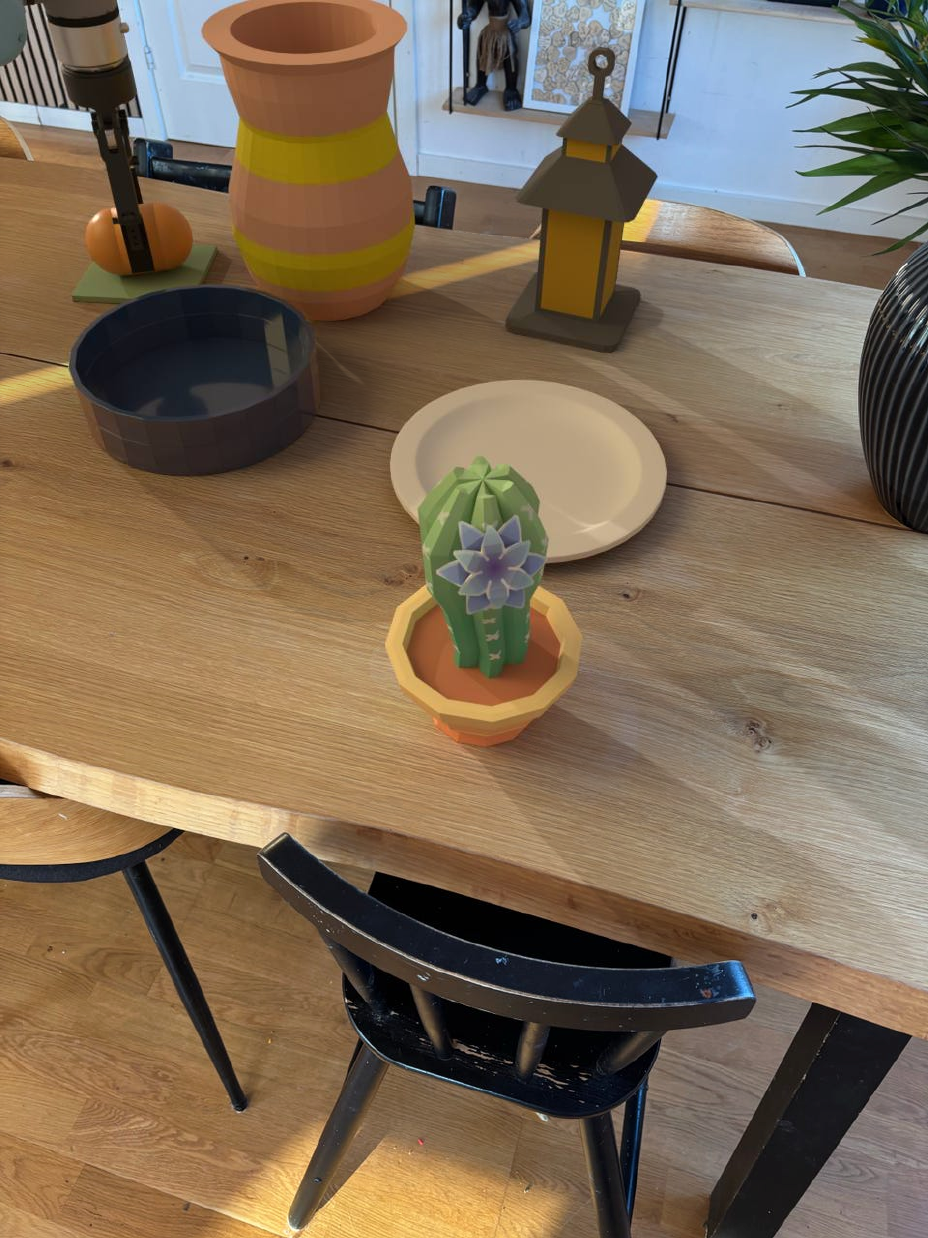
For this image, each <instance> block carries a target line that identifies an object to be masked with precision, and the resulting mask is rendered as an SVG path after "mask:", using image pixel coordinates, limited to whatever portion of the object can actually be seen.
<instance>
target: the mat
mask: <svg viewBox="0 0 928 1238" xmlns="http://www.w3.org/2000/svg"><path fill="white" fill-rule="evenodd" d="M218 250H219V249H218V245H216V244H215V245H212V244H194V243H193V246H192V250H191V253H190V255H189V257H188V258H187V259H186V261H185V262H184V263H183V264H181V265H180V266H179V267H176V268H174V269H171V270H166V271H158V272H150V273H143V274H135V275H124V276H120V275H114V274H112V273H109V272H107V271H105V270H103V269H102V268H100V267H99V266H98V265H97V264H96V263H95V262H94V261H93V260H92V262H91V263H90V265H89V267H88V268H87V269H86V271H85V273H84V274H83V276H82V277H81V279H80V280H79V282H78V283H77V285H76V286H75V288H74V290H73V292H72V293H71V294H70V296H71V300H72V302H82V303H83V302H84V303H102V304H103V303H105V304H121V303H123V302H126V301H129V300H131V299H134V298H136V297H139V296H142V295H144V294H147V293H150V292H155V291H159V290H164V289H168V288H173V287H179V286H191V285H202V284H203V283H204V281H205V279H206V277H207V275H208V273H209V270H210V269H211V267H212V264H213V262H214V260H215V258H216V256H217V253H218Z"/></svg>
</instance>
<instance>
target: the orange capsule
mask: <svg viewBox="0 0 928 1238" xmlns="http://www.w3.org/2000/svg"><path fill="white" fill-rule="evenodd" d="M138 205H139V210H140V213H141V214H142V217H143V221H144V225H145V229H146V234H147V238H148V242H149V246H150V250H151V255H152V259H153V263H154V267H155V271H149V272H141V273H133V274H132V270H131V266H130V263H129V259H128V255H127V251H126V247H125V243H124V239H123V235H122V231H121V228H120V224H113V220H112V218H114V217H117V212H116V207H115V206H112V207H106V208H103V209H101V210H100V211H98V212H96V213H95V214H94V215H93V216H92V218H91V219H90V220H89V221H88V224H87V226H86V229H85V234H84V235H85V237H84V239H85V240H84V241H85V246H86V249H87V250H86V251H87V252H88V254H89V256H90V258H91V259H92V262H93V261H94V262H95V263H96V264H97V265H98V266H99V267H100V268H102V269H103V270H105V271H107V272H109V273H112V274H114V275H120V276H124V275H135V274H143V273H150V272H158V271H166V270H171V269H174V268H176V267H179V266H180V265H181V264H183V263H184V262H185V261H186V259H187V258H188V257H189V255H190V253H191V250H192V246H193V244H194V235H193V231H192V230H193V229H192V228H191V225H190V223H189V221H188V220H187V218H186V217H185V216H184V214H183V213H182V212H181V211H179V209H177V208H175V207H174V206H171V205H169V204H167V203H162V202H148V203H147V202H146V203H144V204H138Z"/></svg>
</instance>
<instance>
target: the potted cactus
mask: <svg viewBox="0 0 928 1238" xmlns="http://www.w3.org/2000/svg"><path fill="white" fill-rule="evenodd" d="M539 504H540V500H539V498H538V496H537V494H536V492H535V490H534V488H533V486H532V485H531V484H530V483H528V482H527V481H526V480H525V479H524V478H523V477H522V476H521V475H520V474H518V473H517V472H516V471H515V470H514V469H513V468H512V467H511V466H510V465H508V464H507V463H502V464H499V465H497V466H496V467H495V468H494V469H493V470H492V469H491V466H490V464H489V462H488V461H487V460H486V459H485V458H484V457H483V456H477V457H475V459H474V461H473V462H472V464H471V466H470V467H469V469H468V470H467V469H465V468H462V467H455V468H454V469H453V470H452V471H451V472H449V473H448V474H447V475H446V476H445V477H444V478H443V479H442V480H441V481H440V482H439V483H438V484H437V485H436V486H434V488H433V489H432V490H431V491H430V493H429V494H428V495H427V496H426V498H425V499H424V500H423V502H422V503H421V504H420V506H419V507H418V517H419V524H418V525H419V533H420V541H421V551H422V559H423V560H422V561H423V568H424V578H425V584H424V585H423V586H422V587H420V588H419V589H418V590H417V591H415V592H414V593H413V594H412V595H411V596H409V597H408V598H407V599H405V600H404V601H403V602H402V603H400V604H399V605H398V606H397V607H396V609H395V612H394V615H393V618H392V620H391V625H390V627H389V630H388V633H387V636H386V640H385V643H384V648H385V650H386V653H387V656H388V658H389V661H390V663H391V666H392V669H393V672H394V674H395V677H396V679H397V682H398V685H399V687H400V689H401V691H402V694H403V695H404V696H405V697H407V698H408V699H409V700H411V701H412V702H413V703H415V704H416V705H417V706H419V707H420V708H421V710H422V711H423V712H425V713H426V714H428V715H429V716H430V717H431V718H432V719H433V723H434V724H435V727H436V728H438V729H439V730H440V731H442V732H443V733H444V734H446V735H447V736H448V737H450V738H451V739H453V740H454V742H457V743H461V744H465V745H471V746H478V747H483V748H488V747H492V746H494V745H499V744H502V743H506V742H508V741H513V740H514V739H515V738H516V737H518V735H520V733H521V732H523V731H524V729H525V728H527V727H528V726H529V725H530V724H531V722H532V721H533V720H534V719H536V718H540V717H542V715H543V714H544V713H545V712H547V710H548V709H550V707H551V706H552V705H554V703H556V701H558V700H559V699H560V698H561V696H563V695H564V694H565V692H567V691H568V690H569V689H570V688H571V687H572V685H573V684H574V682H575V679H576V678H577V676H578V670H579V664H580V657H581V651H582V644H583V637H584V636H583V634H582V632H581V630H580V629H579V627H578V625H577V623H576V622H575V619H574V618H573V616H572V614H571V613H570V610H569V609H568V607H567V605H566V603H565V602H564V600H563V599H561V598H560V597H558V596H556V595H555V594H554V593H552V592H551V591H549V590H546V589H545V588H544V587H542V586H540V584H541V582H542V580H543V575H544V571H545V565H546V564H547V563H546V562H547V557H546V554H547V548H548V542H549V538H548V536H547V534H546V531H545V529H544V527H543V525H542V522H541V520H540V518H539V517H538V511H539Z"/></svg>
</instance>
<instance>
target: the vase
mask: <svg viewBox="0 0 928 1238" xmlns="http://www.w3.org/2000/svg"><path fill="white" fill-rule="evenodd" d="M200 31H201V37H202V39H203V40H204V42H206V44H207V45H209V47H211V49H212V50H214V51H215V53H217V54H218V56H219V60H220V64H221V68H222V72H223V76H224V80H225V83H226V85H227V88H228V90H229V93H230V94H229V95H230V96H231V98H232V102H233V104H234V107H235V110H236V112H237V114H238V117H239V119H238V126H237V133H236V141H235V148H234V157H233V162H232V167H231V172H230V173H231V174H230V177H229V183H228V197H229V198H228V199H229V206H230V207H229V208H230V218H231V229H232V234H233V238H234V241H235V243H236V245H237V248H238V250H239V252H240V255H241V257H242V259H243V261H244V264H245V266H246V268H247V270H248V272H249V275H250V276H251V278H252V280H253V281H254V283H256V285H257V287H259V288H260V289H261V291H264V292H267V293H269V294H271V295H274V296H276V297H279V298H281V299H284V300H286V301H287V302H288V303H290V304H291V305H292V306H294V307H295V308H297V309H298V310H299V311H301V312H302V313H303V315H304V316H305V318H306V319H307V321H308V320H309V321H318V322H335V321H344V320H349V319H354V318H359V317H361V316H363V315H366V314H369V313H370V312H372V311H374V310H375V309H378V308H379V307H380V306H381V305H382V304H383V303H385V302H386V300H387V299H388V298H389V296H390V294H391V293H392V292H393V289H394V288H395V287H396V285H397V284H398V282H399V280H400V279H401V277H402V275H403V274H404V272H405V269H406V267H407V264H408V260H409V256H410V250H411V246H412V242H413V237H414V234H415V233H414V232H415V230H416V229H415V228H416V219H415V217H416V216H415V208H414V207H415V206H414V198H413V197H414V195H413V187H412V178H411V175H410V173H409V170H408V167H407V165H406V163H405V160H404V157H403V154H402V152H401V150H400V146H399V144H398V140H397V137H396V135H395V132H394V128H393V125H392V122H391V119H390V116H389V113H388V107H389V102H390V97H391V89H392V83H393V78H394V69H395V68H394V67H395V53H396V52H395V51H396V46H397V45H398V44H399V43H400V42H401V41H402V39H404V37H405V35H406V33H407V32H408V22H407V21H406V19H405V16H403V14H401V13H400V12H399V11H397V10H396V9H394V8H393V7H391V6H389V5H387V4H384V3H381V2H378V1H375V0H244V1H241V2H237V3H234V4H232V5H228V6H226V7H225V8H222V9H219V10H218V11H216V12H214V13H213V14H211V15H210V16H209V17H208V18H207V19H206V20H205V21H204V22H203V25H202V27H201V29H200Z"/></svg>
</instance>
